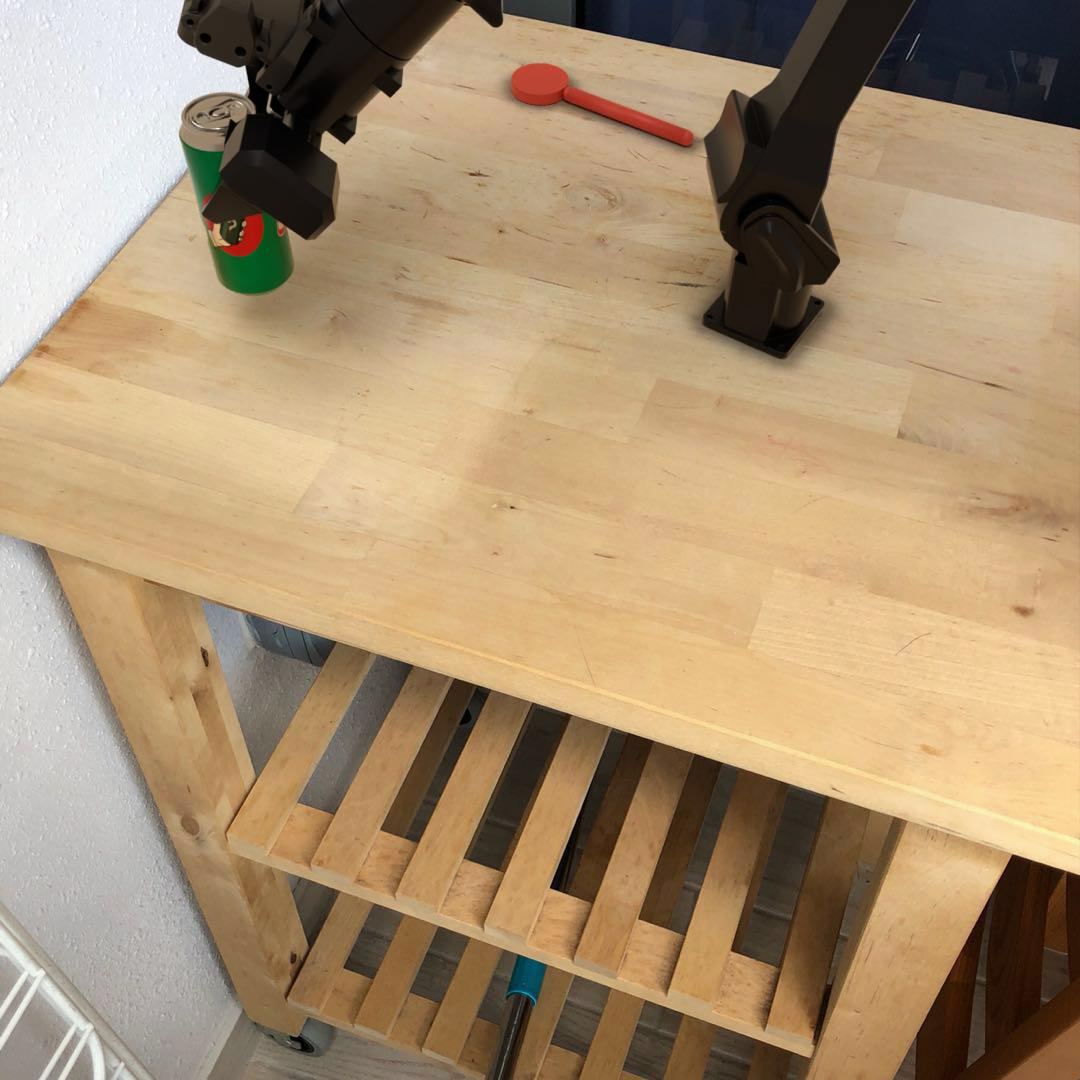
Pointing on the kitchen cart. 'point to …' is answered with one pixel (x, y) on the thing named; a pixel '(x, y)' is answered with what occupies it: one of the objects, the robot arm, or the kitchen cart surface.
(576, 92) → the spoon
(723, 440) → the kitchen cart surface
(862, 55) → the robot arm
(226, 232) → the soda can
